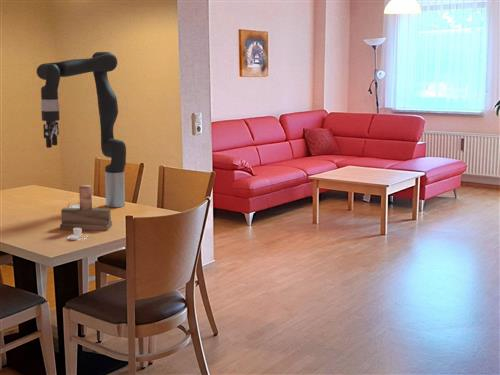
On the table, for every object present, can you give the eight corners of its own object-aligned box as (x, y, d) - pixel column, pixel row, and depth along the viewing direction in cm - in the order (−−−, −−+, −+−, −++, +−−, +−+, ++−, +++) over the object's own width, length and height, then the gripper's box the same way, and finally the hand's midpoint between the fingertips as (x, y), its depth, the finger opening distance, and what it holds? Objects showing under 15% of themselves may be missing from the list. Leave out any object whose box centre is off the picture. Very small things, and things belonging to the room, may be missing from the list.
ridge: (66, 224, 269) (65, 206, 268) (112, 225, 270) (111, 207, 268) (60, 229, 260) (59, 211, 259) (107, 230, 261) (107, 211, 259)
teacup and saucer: (73, 242, 243) (72, 232, 242) (61, 238, 248) (61, 229, 248) (91, 238, 250) (91, 228, 249) (80, 234, 255) (80, 225, 254)
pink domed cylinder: (81, 207, 266) (80, 185, 264) (93, 208, 266) (92, 185, 264) (78, 210, 261) (77, 187, 259) (90, 210, 261) (89, 187, 259)
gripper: (54, 111, 264) (55, 148, 267) (63, 108, 278) (64, 144, 281) (36, 110, 264) (38, 148, 267) (46, 108, 278) (48, 144, 281)
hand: (52, 146), depth 274 cm, fingers open, 8 cm apart
